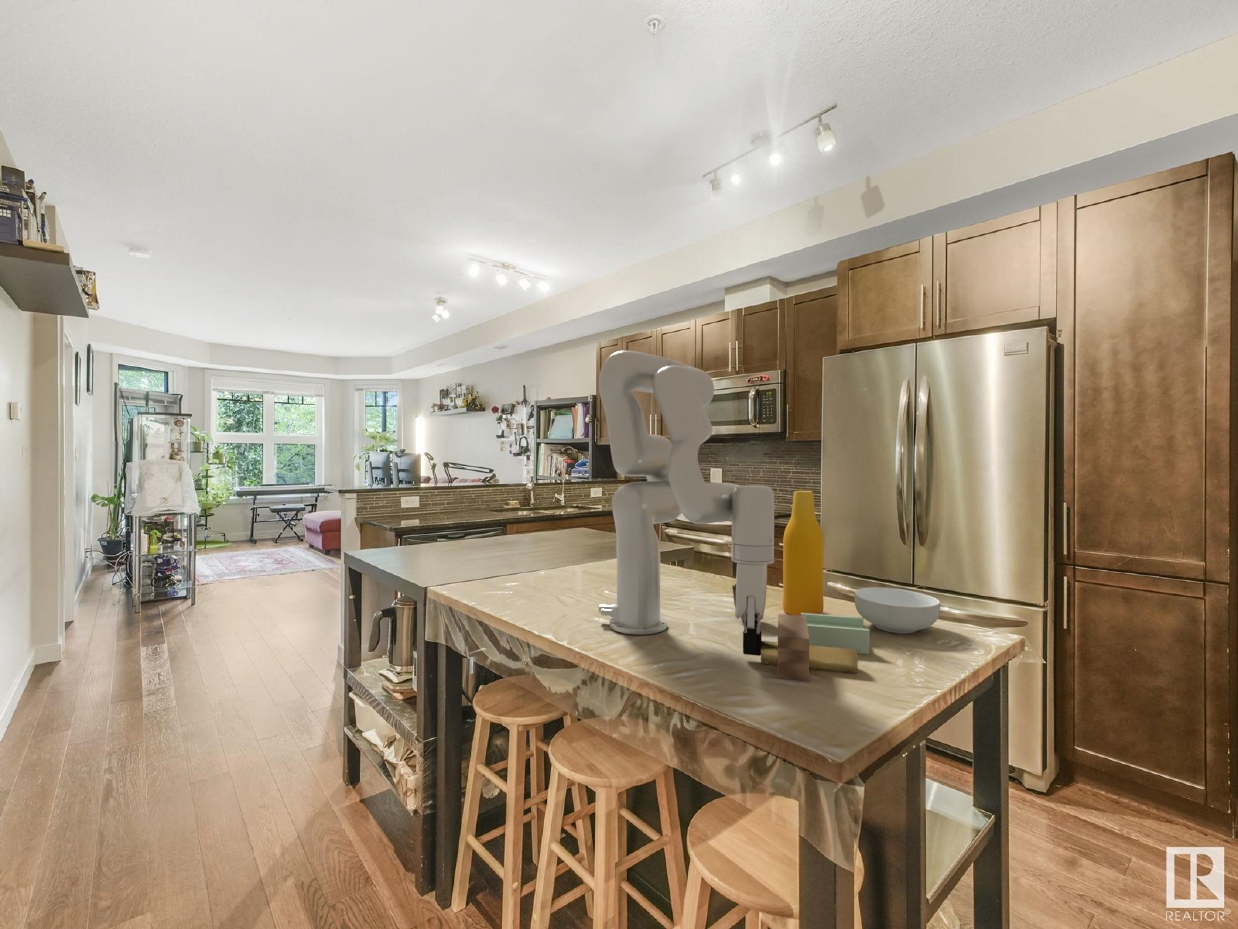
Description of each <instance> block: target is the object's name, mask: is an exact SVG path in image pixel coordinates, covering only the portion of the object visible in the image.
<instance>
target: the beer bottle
mask: <svg viewBox="0 0 1238 929" xmlns="http://www.w3.org/2000/svg"><path fill="white" fill-rule="evenodd" d="M813 492H814V491H810V490H795V491H794V492H793V499H792V509H791V516H790V518H789V521H788V523H787V525H786V527H785V529H784V533H783V540H782V542H783V543H782V544H783V550H782V552H783V554H782V555H783V560H782V561H783V563H782V564H783V565H782V566H783V568H782V570H783V571H782V573H783V576H782V577H783V578H782V582H783V584H782V588H783V589H782V592H783V593H782V609H783V611H784V612H785V613H786V615H799V616H801V613H810V614H823V613H824V552H825V551H824V549H825V548H824V544H825V542H824V534H823V531H822V528H821V526H820V523H819V522H818V519H817V517H816V508H815V501H814V500H815V499H814V493H813Z"/></svg>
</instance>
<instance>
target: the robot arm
mask: <svg viewBox="0 0 1238 929" xmlns="http://www.w3.org/2000/svg"><path fill="white" fill-rule="evenodd" d="M598 392H599V396H600V400H601V403H602V406H603V407H602V408H603V410H604V414H605V418H606V425H607V433H608V439H609V447H610V453H611V460H612V464H613V467H614V469H615V471H616V472H617V473H618V474H619V475H621V476H624V477H646V481H633V482H629V483H625V484H623V485H621V486H620V487H618V488H617V490H616V491H615V492H614V494H613V496H612V501H611V510H612V516H613V521H614V526H615V527H614V528H615V534H616V537H615V538H616V603H614V604H612V605H608V604H601V603H600V604H599V605H598V613H600V615H601V616H610V617H611V618H610V620H609V628H610V629H611V630H613V631H615V632H618V633H622V634H627V635H638V636H639V635H652V634H653V635H654V634H658V633H660V632H663V631H665V630H666V629H667V627H668V620H667V619H665V617H663V616H661V544H660V540H659V536H658V534H657V532H656V529H655V527H654V525H657V524H663V523H669V522H674V521H675V520H677V519H678V518H679V517H680V516H681V515H683V516H684V517H685V519H686V520H687V521H689V522H691V523H693V524H695V525H707V524H716V523H724V522H725V523H726V522H731V561H732V562H733V563H737V564H736V573H735V574H736V576H735V577H736V578H735V584H736V608H735V614H734V617H735V618H736V619H737V620H739V619H740V618H741V617H742V616H743V613H744V621H743V631H742V654H744V655H749V656H756V657H757V656H758V657H761V641H762V634H763V633H762V632H763V631H761V621H762V620H763V619H764V617H765V616H764V614H765V609H766V601H767V585H768V584H767V583H768V565H771V564H774V563H775V492H774V490H773V489H772V488H771V487H770V486H767V485H757V484H754V485H753V484H746V485H745V484H744V485H742V484H741V485H740V484H736V483H732V482H705V478H704V476H703V474H702V471H701V468H700V465H699V460H698V458H699V457H698V454H699V449H700V447H701V446H702V444H703V443H705V442H706V441H708V440H709V439H710V437H711V436H712V435H713V430H714V428H713V426H712V423H711V420H710V418H709V416H708V414H707V411H706V409H705V407H706V406H708V405H709V404H710V403H711V402H712V400H713V398H714V396H715V386H714V381H713V379H712V377H711V376H710V375H709V374H708V372H706V371H704V369H700V368H697V367H693V366H691V365H688V364H685V363H683V362H680V361H678V360H675V359H672V358H669V357H664V356H660V355H656V354H650V353H645V352H641V351H636V350H620V351H619V350H618V351H615V352H614V353H612V354H611V355H609V356H608V357H607V358H606V359H605V361H604V363H603V364H602V367H601V369H600V372H599V377H598ZM634 392H640V393H649V394H654V398H655V401H656V402H657V405H658V409H659V410H660V414H661V415H662V419H663V421H664V424H665V427H666V429H667V432H668V434H669V437H670V440H671V441H670V440H669V439H668V438H667V437H666V436H663V435H660V434H650V433H648V429H647V425H646V418H645V414H644V411H643V407H642V406H641V404H640V401H638V399H637V398H636V396H635V395H634Z"/></svg>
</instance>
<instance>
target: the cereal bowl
mask: <svg viewBox="0 0 1238 929" xmlns="http://www.w3.org/2000/svg"><path fill="white" fill-rule="evenodd" d="M853 596H854V597H853V599H854V606H855V609H856V611H857V613H858V614H859V615H860V617H863V619H864V621H865V620H866V621H867V622H869V623H870V624H873V625H874V626H875V627H876V628H877V629H879V630H882V631H884V632H888V633H893V634H894V633H895V634H913V633H915V632H917V631H918V630H919V631H921V630H924V629H928V628H930V627H932V626H933V625H934V624H935V623H936V622H937V621H938V618H939V617H940V611H941V601H940V600H939V599H938V598H936V597H934V596H931V595H929V594H925V593H921V592H917V591H912V590H907V589H902V588H901V589H900V588H891V587H890V588H889V587H862V588H859V589H857V590H855V592H854V595H853Z"/></svg>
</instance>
